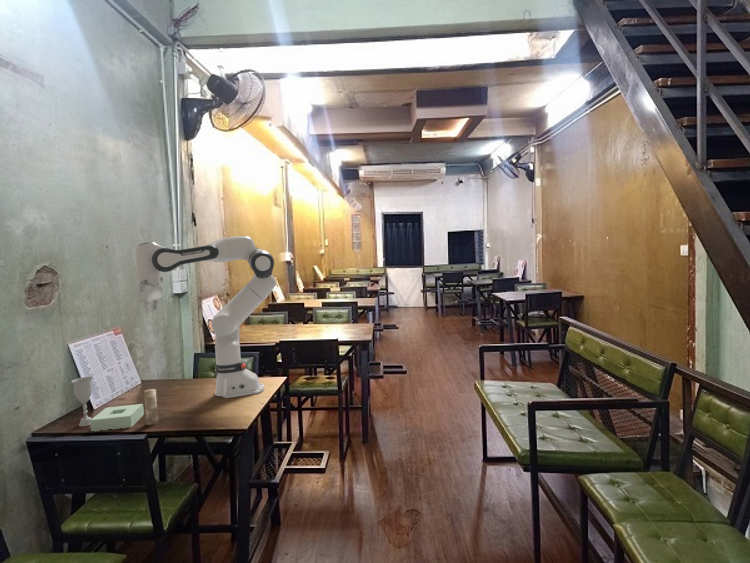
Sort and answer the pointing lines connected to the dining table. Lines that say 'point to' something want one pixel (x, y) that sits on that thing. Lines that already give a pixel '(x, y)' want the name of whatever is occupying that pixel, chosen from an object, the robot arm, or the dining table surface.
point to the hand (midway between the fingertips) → (151, 311)
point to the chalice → (83, 396)
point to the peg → (151, 406)
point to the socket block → (117, 417)
